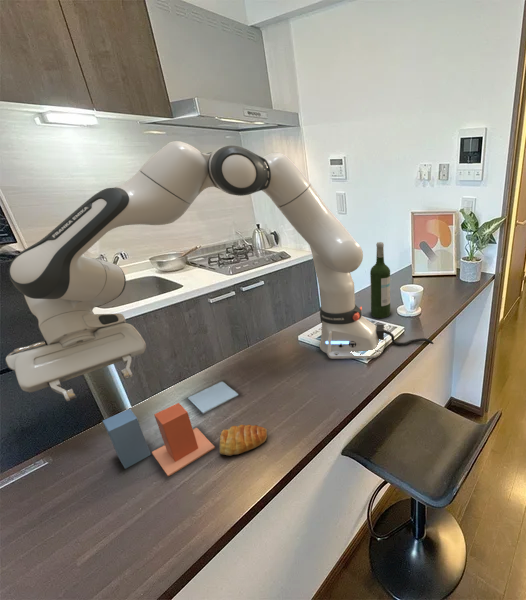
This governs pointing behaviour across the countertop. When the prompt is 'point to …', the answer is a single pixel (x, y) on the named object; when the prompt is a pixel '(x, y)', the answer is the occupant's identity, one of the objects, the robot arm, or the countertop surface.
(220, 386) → the blue mat
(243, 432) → the pastry
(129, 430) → the blue block
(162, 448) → the terracotta mat
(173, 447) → the terracotta block
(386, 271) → the wine bottle
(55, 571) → the countertop surface
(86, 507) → the countertop surface
